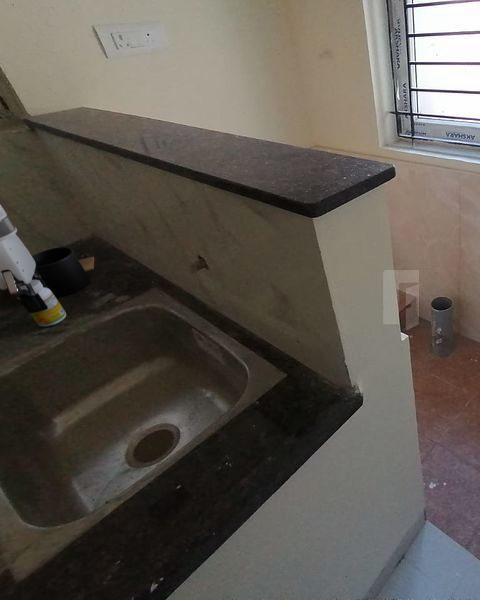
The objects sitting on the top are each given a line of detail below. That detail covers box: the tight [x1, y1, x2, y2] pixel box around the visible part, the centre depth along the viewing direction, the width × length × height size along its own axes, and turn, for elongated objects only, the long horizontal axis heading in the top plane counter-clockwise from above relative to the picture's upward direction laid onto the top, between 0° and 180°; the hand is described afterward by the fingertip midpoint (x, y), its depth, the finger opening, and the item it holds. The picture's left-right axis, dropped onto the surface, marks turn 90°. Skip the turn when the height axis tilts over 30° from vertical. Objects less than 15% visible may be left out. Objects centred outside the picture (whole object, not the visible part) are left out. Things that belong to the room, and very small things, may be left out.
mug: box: [22, 246, 91, 298], centre depth 96 cm, size 9×12×9 cm
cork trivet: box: [78, 256, 95, 272], centre depth 107 cm, size 7×7×1 cm
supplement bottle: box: [20, 280, 67, 327], centre depth 86 cm, size 5×5×10 cm
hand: (40, 302), depth 86 cm, fingers closed on supplement bottle, 5 cm apart
